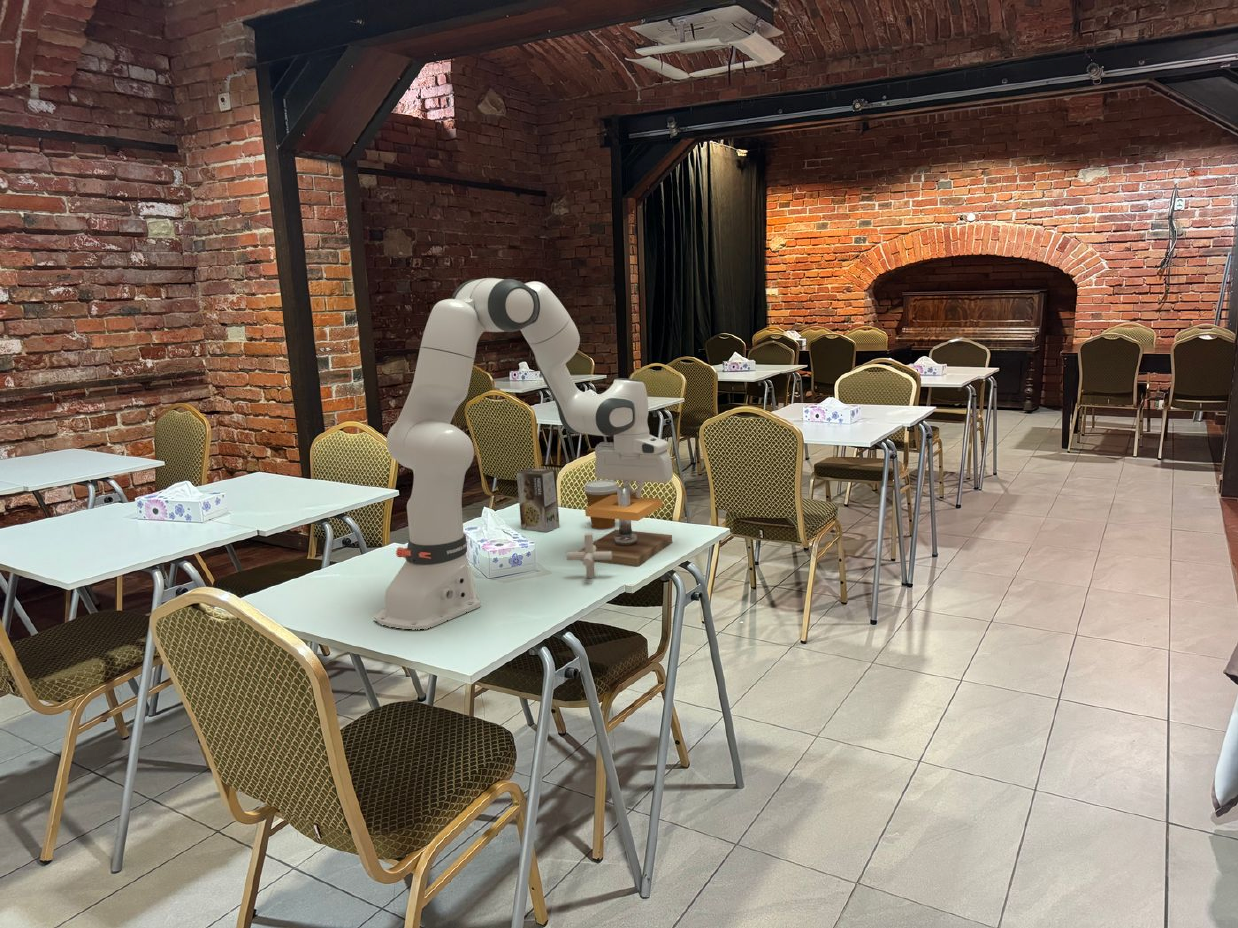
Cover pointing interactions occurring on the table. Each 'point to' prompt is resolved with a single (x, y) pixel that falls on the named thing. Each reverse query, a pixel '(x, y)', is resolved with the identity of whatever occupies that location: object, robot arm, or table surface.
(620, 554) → the walnut base board
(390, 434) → the robot arm
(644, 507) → the orange collar
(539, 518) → the grey-brown upright rectangular box
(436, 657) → the table surface
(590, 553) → the pipe connector
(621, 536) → the metal pipe
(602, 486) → the disposable coffee cup
